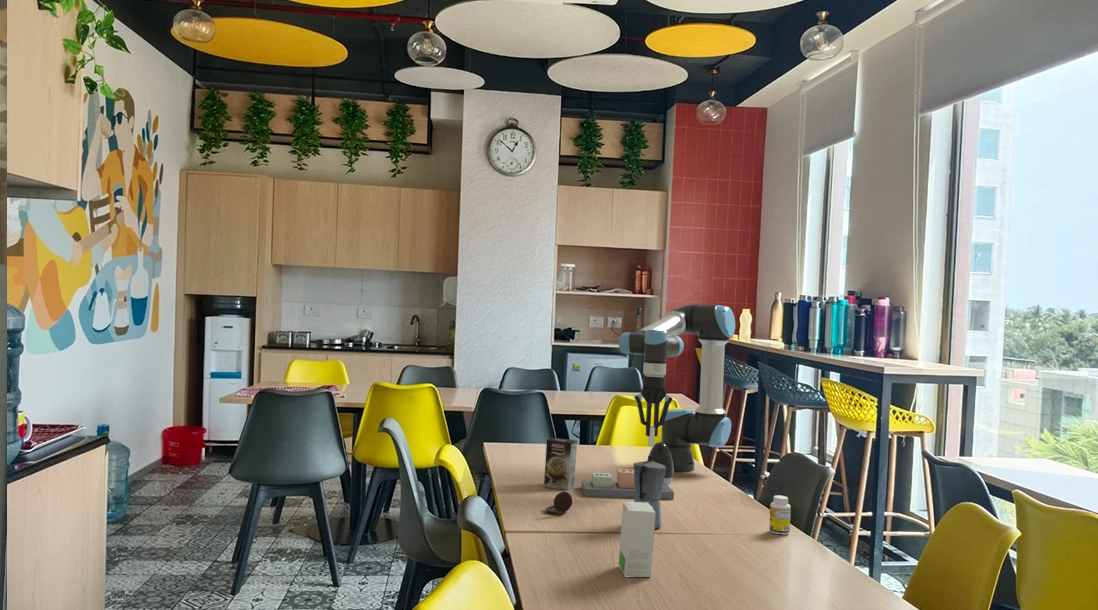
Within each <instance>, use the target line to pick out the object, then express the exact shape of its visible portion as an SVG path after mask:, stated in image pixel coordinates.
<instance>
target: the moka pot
mask: <svg viewBox="0 0 1098 610" xmlns="http://www.w3.org/2000/svg"><path fill="white" fill-rule="evenodd" d="M647 459H648V461H647V460H645V461H636V462H634V463H633V469H634V485H635V497H636V498H634V500H633V502H648V503H649V504H650V506H652V507H653V510H654V511H655V512H656V515H655V528H654V530H655V529H660V528H661V527H662V515H661V514H662V513H661V499H660V494H661V492H662V488H663V482H664V477H665V472H666V467H665V466H664V465H662V464H659V463H656V462H653V461H652V459H653V456H651V455H649V454H648V455H647Z"/></svg>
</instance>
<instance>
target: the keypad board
mask: <svg viewBox="0 0 1098 610" xmlns="http://www.w3.org/2000/svg"><path fill="white" fill-rule="evenodd" d="M591 483H592V479H591V480H589V479H586V480H585V479H581V482H580V484H581V485H580V488H581V490H582V492H584V493H583V495H584V496H585V498H590V497H592V498H611V497H613V498H614V499H615V498H617V499H635V498H636V497H635V488H619V487H618V485H617V480H615V481H614V480H612V488H604V487H592V485H591ZM668 499H669V500H670V501H672V500H673V501H674V499H675V492H674V491H673V489H672V488H671V487H670V486H669V485H667V484H666V483H663V489H662V492H661V494H660V499H659V500H666V501H667V500H668Z"/></svg>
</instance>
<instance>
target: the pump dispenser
mask: <svg viewBox="0 0 1098 610" xmlns="http://www.w3.org/2000/svg"><path fill="white" fill-rule="evenodd" d="M649 455H651V456H653V459H652V461H653V462H656V463H659V464H662V465H664V466H665V467H666V472H665V477H664V482H663V483H666V484H667V485H668V486H669V485H670V484H671V483H672V480H673V478H674V476H675V471H674V467H673V461H672V456H671V453H670V450H669V448H668V446H667V445H666V444H665V443H663V442H661V441H659V442H656V443H654V447H651V449H650V451H649V454H648V456H649ZM646 461H648V458H647V460H646Z"/></svg>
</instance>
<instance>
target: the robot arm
mask: <svg viewBox="0 0 1098 610" xmlns="http://www.w3.org/2000/svg"><path fill="white" fill-rule="evenodd" d="M735 331H736V319H735V314H734V313H733V310H732V309H731V308H730V307H729V306H726V305H719V304H697V303H696V304H695V303H694V304H686V305H683V306H679V307H677V308H673V309H672V310H670V311H668V312H667V313H666V314H664V316H663V317H662V318H660V319H658V320H657V321H654V322H653V323H650V324H648V325H646V326H645V327H643V328H641V329H639V330H638V331H635V332H631V331H628V332H622V333H621V334H620V336H619V339H618V348H619V350H620V352H621V353H622V354H623V353H624V354H629V355H640V356H643V371H642V372H643V376H642V389H641V390H640V393H638V394H637V395H636V394H635V395H634V396H633V398H634V400H635V402H636V405H637V410H638V415H639V420H640V424H642V425H643V426H645V436H646V437H648V441H647V442H648V443H647V444H648V445H647V446H648V447H649V448H652V447H654V445H655V437H656V438H657V437H658V434H659V427H661V441H660V442H663V443H665V444H666V445H667V446H668V448H669V450H670V453H671V456H672V461H673V467H674V472H693V471H695V461H694V457H693V452H692V444H693V445H698V446H699V445H700V446H705V447H706V446H707V447H710V448H722V447H724V446H725V445H726V444H727V442H728V440H729V438H730V435H731V431H732V421H731V418H729V417H727V411H726V410H725V409H724V408H723V395H724V376H725V375H724V373H725V372H724V371H725V369H724V367H725V349H726V348H725V346H726V344H728V343H729V341H730V338H731V337H733V336H734V334H735ZM682 334H683V335H684V334H687V335H688V334H690V335H698V336H697V337H698V339H697V340H698V341H699V343H700V344H701V357H700V359H701V361H700V382H699V383H700V387H699V405H698V407H697V408H695V410H694V411H693V409H691V408H677V409H675V408H674V409H669V407H670V405H671V403H672V401H673V400H674V399H673V397H672V396H669V395H668V394H667V391H666V377H665V376H666V374H667V358H674V357H679V356H680V355H681V354H682V353H683V352H684V347H685V346H684V345H685V344H684V340H682V338H681V337H680V336H679V335H682ZM643 399H644V401H645V402H646V411H645V412H646V413H645V415H644V408H643V404H642V400H643ZM663 400H664V404H663V407H662V410H661V414H660V403H661V402H662V401H663ZM652 407H654V408H653V425H652ZM694 412H695V413H694ZM659 415H660V416H659Z"/></svg>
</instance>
